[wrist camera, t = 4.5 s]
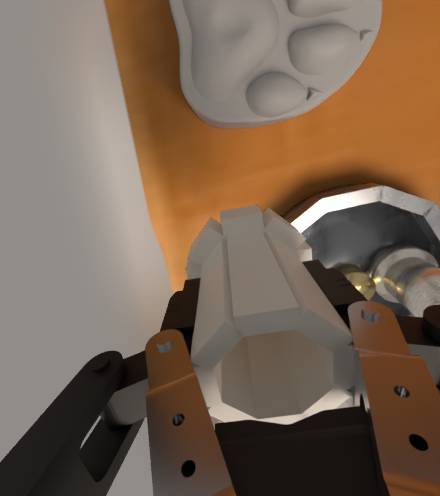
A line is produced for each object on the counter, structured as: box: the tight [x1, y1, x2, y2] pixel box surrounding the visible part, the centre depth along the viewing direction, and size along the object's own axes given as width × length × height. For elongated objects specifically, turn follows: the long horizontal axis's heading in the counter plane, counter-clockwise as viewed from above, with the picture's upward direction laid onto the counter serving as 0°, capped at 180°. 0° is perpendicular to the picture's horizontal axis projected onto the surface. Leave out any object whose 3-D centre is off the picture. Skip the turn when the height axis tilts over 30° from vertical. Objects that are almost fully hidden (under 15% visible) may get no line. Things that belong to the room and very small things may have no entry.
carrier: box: [282, 182, 440, 317], centre depth 26 cm, size 21×21×9 cm
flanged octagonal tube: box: [186, 205, 355, 424], centre depth 11 cm, size 6×6×8 cm
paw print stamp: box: [169, 0, 382, 129], centre depth 18 cm, size 10×13×9 cm
